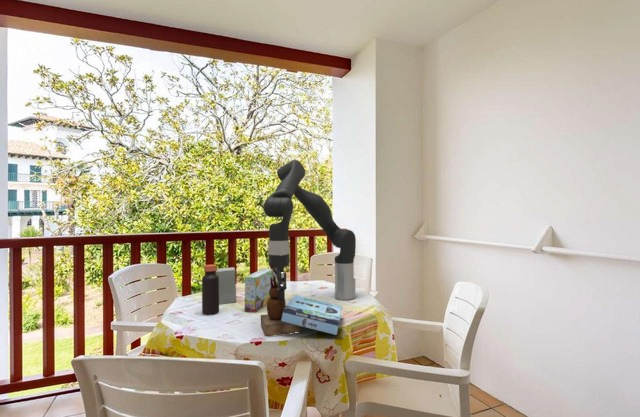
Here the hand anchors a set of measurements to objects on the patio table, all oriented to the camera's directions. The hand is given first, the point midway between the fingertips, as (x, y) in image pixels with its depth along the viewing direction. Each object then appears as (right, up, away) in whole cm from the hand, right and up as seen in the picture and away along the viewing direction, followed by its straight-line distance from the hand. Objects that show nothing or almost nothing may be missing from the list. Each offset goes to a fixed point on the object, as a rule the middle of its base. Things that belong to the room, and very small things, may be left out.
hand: (279, 298), depth 125 cm
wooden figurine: (-1, -7, 0) cm, 7 cm away
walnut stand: (0, -11, 0) cm, 11 cm away
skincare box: (-29, -12, +38) cm, 49 cm away
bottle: (-31, -12, +21) cm, 39 cm away
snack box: (-13, -12, +32) cm, 36 cm away
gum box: (+13, -7, +14) cm, 20 cm away
